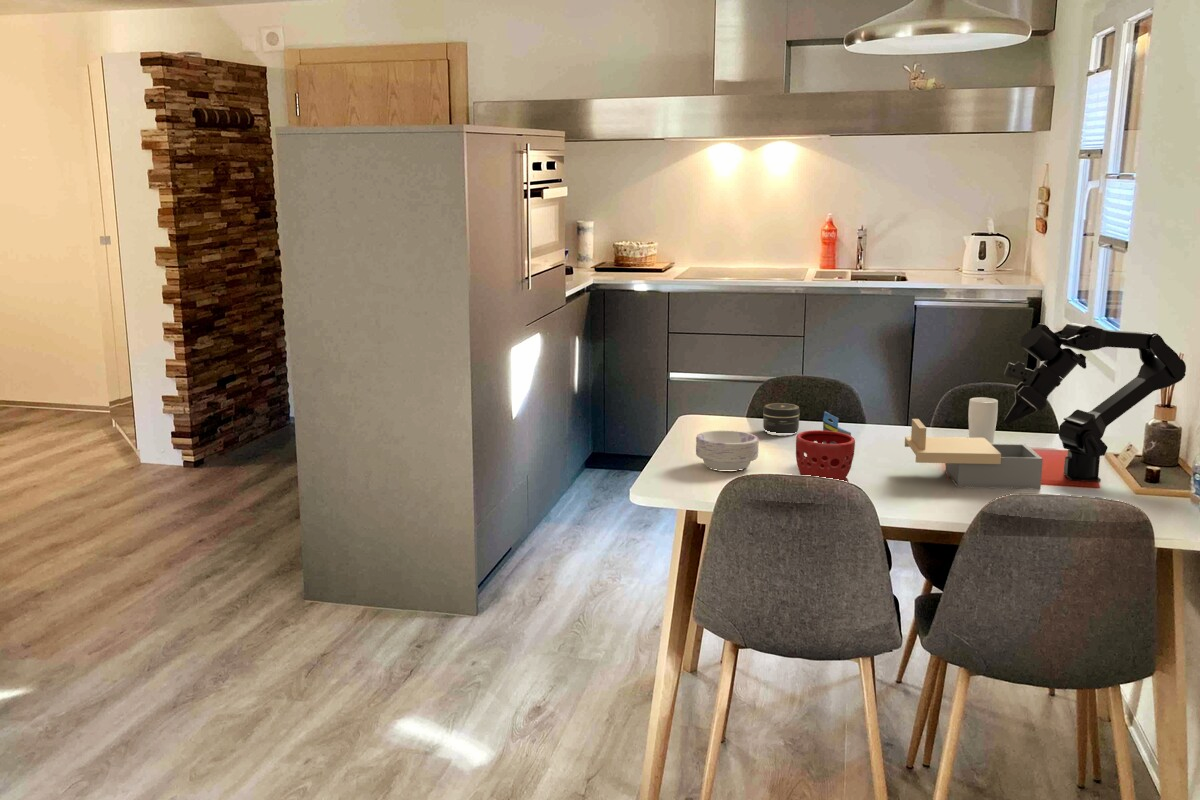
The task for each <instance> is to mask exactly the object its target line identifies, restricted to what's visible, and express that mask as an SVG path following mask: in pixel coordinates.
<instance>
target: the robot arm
mask: <svg viewBox="0 0 1200 800" xmlns="http://www.w3.org/2000/svg"><path fill="white" fill-rule="evenodd" d="M1020 346H1021V348H1022V349H1024V350H1025V351H1026V352H1027V353H1029V354H1030V355H1031V356H1032V357H1034V358H1035V359H1037V360H1038V361H1039V362H1042V363H1041V365H1039V366H1035V368H1034V369H1031V368H1027V367H1026V365H1025V363H1023V362H1020V361H1017V362H1016V363H1012V362H1007V365H1006V368H1005V370H1004V373H1003V376H1004V377H1006V378H1012V379H1016V380H1019V381H1020V382H1019V383H1018V384H1017V385H1016V386H1015V387H1014V388H1015V391H1014V398H1015V399H1014V400H1015V401H1014V402H1013V404H1012V406H1011V407H1010V409H1009V410H1008V411H1009V412H1008V413H1007V415H1006V416H1005V418H1004V420H1003V423H1004V424H1005V425H1006V426H1008V425H1010V424H1012V423H1014V422H1016V421H1018V420H1019V419H1020V420H1021V419H1022V418H1024V417H1027V416H1028V415H1030V414H1033V413H1035V412H1037V411H1038V410H1039V411H1040V412H1041V411H1042V410H1043V409H1044V408H1045V407H1046V406H1047V399H1048V398H1049V396H1050V394H1051V393H1052V392H1053V391H1055V389H1056V388H1057V387H1059V386H1060V385H1061V383H1062V382H1063V380H1065V378H1066V377H1068V376H1069V374H1070V373H1071V372H1072V371H1073V370H1074V368H1076V366H1077V365H1078V366H1079V367H1081V368H1082V369H1084V370H1085V369H1087V361H1086V360H1087V356H1086V355H1084V354H1083V353H1077V352H1075V351H1074V350H1072V349H1075V350H1079V351H1084V352H1087V351H1089V352H1090V351H1095V350H1096V351H1097V350H1100V349H1103V348H1120V349H1136V350H1138V352H1139V359H1140V361H1141V362H1142V365H1141V366H1140V367H1139V370H1138V373H1137V375H1136V376H1135V377H1134V378H1133V379H1132V380H1130V381H1129V382H1128V383H1126V384H1125V385H1123V386H1122V387H1121V388H1119V389H1117V391H1115V392H1114V393H1113V394H1111V395H1110V396H1108V397H1107V398H1106V399H1105V400H1103V401H1102V402H1101V403H1099V404H1098V405H1096V407H1094V408H1093V409H1092V410H1090V411H1085V410H1082V409H1076V410H1074V411H1073V412H1072V413H1071V414H1069V416H1067V417H1064V418H1063V422H1062V423H1060V425H1059V427H1058V428H1059V429H1058V437H1059V439H1060V441H1061V443H1062V448H1063V449H1065V450H1067V456H1064V464H1063V465H1064V467H1063V474H1065V475H1064V476H1066V477H1067V478H1068V479H1069V480H1071V481H1073V482H1077V481H1078V482H1101V481H1102V479H1101V478H1100V477H1099V474H1100V473H1099V471H1100V460H1101V457H1104V456H1105V455H1106V453H1107V451H1108V445H1107V444H1106V443H1105V442H1104V440H1102V438H1103V437H1104V434H1105V432H1106V428H1107V427H1108V426H1109V425H1110V424H1112V423H1113V422H1114V421H1116V420H1118V419H1119V418H1120V417H1121V416H1122V415H1124V414H1125V413H1127V412H1128V411H1129V410H1131V409H1132V408H1133V407H1134V406H1136V405H1137V404H1138V403H1140V402H1141V401H1143V400H1144V399H1145V398H1146V397H1148V396H1150V395H1151V394H1152V393H1154V392H1155V391H1158V390H1162V389H1165V388H1166V389H1167V388H1169V387H1171V386H1173V385H1175V384H1177V383H1179V382H1181V381H1182V380H1183V379H1184V378H1185V377H1186V372H1187V366H1186V365H1187V364H1186V362H1185V360H1183V359H1182V358H1181V357H1180V356H1179V354H1178V353H1177V352H1176V351H1175V350H1173V348H1171V347H1170V346H1169V345H1168V344H1167V343H1166V342H1165V340H1164V338H1163V337H1162V336H1161V335H1159V334H1158V333H1154V332H1149V331H1125V330H1110V329H1109V330H1108V329H1103V328H1100V327H1096V326H1093V325H1088V324H1083V323H1078V322H1077V323H1076V322H1069V323H1067V324H1065V325H1064V326H1063V328H1061V329H1060V330H1057V331H1054V332H1053V331H1052V330H1051V329H1050V327H1049V326H1047V324H1045V323H1038V324H1037V325H1036V326H1035V327H1033V328H1031V329H1029V330H1028V331H1027V332H1026V333H1024V334H1023V336H1022V337H1021V339H1020ZM1062 346H1064V347H1065V348H1062Z"/></svg>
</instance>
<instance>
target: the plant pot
mask: <svg viewBox="0 0 1200 800" xmlns="http://www.w3.org/2000/svg"><path fill="white" fill-rule="evenodd" d="M824 441H825V442H826V443H827V444H823V442H824ZM831 442H836V443H837V444H830V443H831ZM855 447H856V440H855V437H854V436H852V435H851V436H850V435H847V434H844V433H840V432H834V431H823V429H822V430H818V429H817V430H814V429H813V430H804V431H802V432H799V433H797V435H796V438H795V458H796V466H797V468H798V471H799V474H801V475H811V476H819V477H826V478H833V479H839V480H844V481H847V482H848V483H849V481H850V480H849V479H848V478H847V477H848V475H849V472H850V471H851V468H852V464H853V460H854V456H855ZM805 455H806V456H805ZM845 457H846V460H845Z"/></svg>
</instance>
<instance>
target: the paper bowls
mask: <svg viewBox="0 0 1200 800" xmlns="http://www.w3.org/2000/svg"><path fill="white" fill-rule="evenodd" d="M759 440H760V439H759V437H758V436H757V435H755V434H752V433H750V432H745V431H737V430H736V431H735V430H726V429H724V430H722V429H721V430H707V431H702V432H700V433H699V434H697V435H696V437H695V443H696V444H695V455H696V456H697V457H698V458H699V459H702V461H703V463H704V464H705V466H706V467H707V468H708V467H709V468H712V469H717V470H739V469H744V468H746V469H747V468H748V467H749V465H750V464H751V462H753V461H755V460H757V459H758V457H759V443H760V442H759ZM709 468H708V469H709ZM712 469H711V470H712ZM744 470H745V469H744Z"/></svg>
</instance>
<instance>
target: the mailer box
mask: <svg viewBox="0 0 1200 800" xmlns="http://www.w3.org/2000/svg"><path fill="white" fill-rule="evenodd" d="M990 444H991V445H992V446H993V447H995V448H996V449H997V450H998V451H999V452H1000V453H1001V464H968V463H945V470H944V471H945V473H946V474H947V475H948V477H949V478H950V479H951V480H952V481H953V483H954V485H955V486H956V487H957V488H976V489H978V488H980V489H981V488H982V489H984V488H985V489H1025V490H1026V489H1032V490H1034V489H1036V490H1037V489H1038V490H1040V489H1041V487H1042V472H1043V457H1041V456H1040V455H1039V454H1038V453H1037V452H1036V451H1034V450H1033V449H1032V448H1031V447H1030V446H1028V445H1027V444H1026V443H994V442H993V443H990Z"/></svg>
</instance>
